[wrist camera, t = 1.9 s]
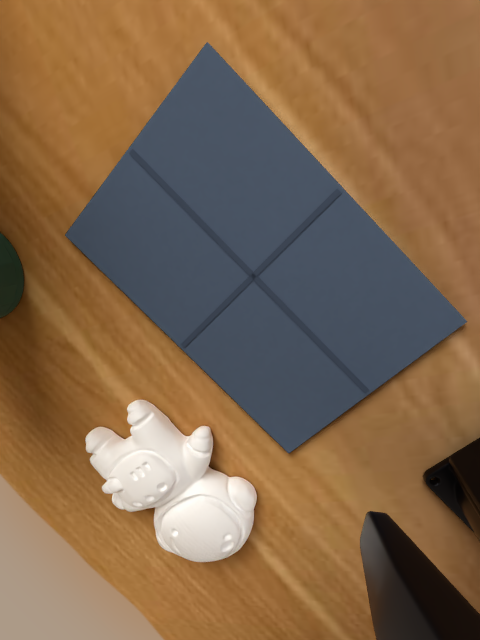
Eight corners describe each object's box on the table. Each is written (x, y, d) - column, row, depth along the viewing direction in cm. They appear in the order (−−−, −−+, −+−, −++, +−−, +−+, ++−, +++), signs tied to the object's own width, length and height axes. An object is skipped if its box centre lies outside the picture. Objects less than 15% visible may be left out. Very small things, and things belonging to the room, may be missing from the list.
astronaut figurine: (174, 374, 21) (155, 398, 18) (281, 521, 23) (278, 565, 20) (75, 433, 23) (44, 463, 21) (178, 563, 25) (162, 607, 22)
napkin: (463, 319, 17) (468, 322, 17) (288, 449, 21) (288, 454, 21) (209, 45, 16) (206, 40, 16) (68, 234, 20) (63, 235, 19)
